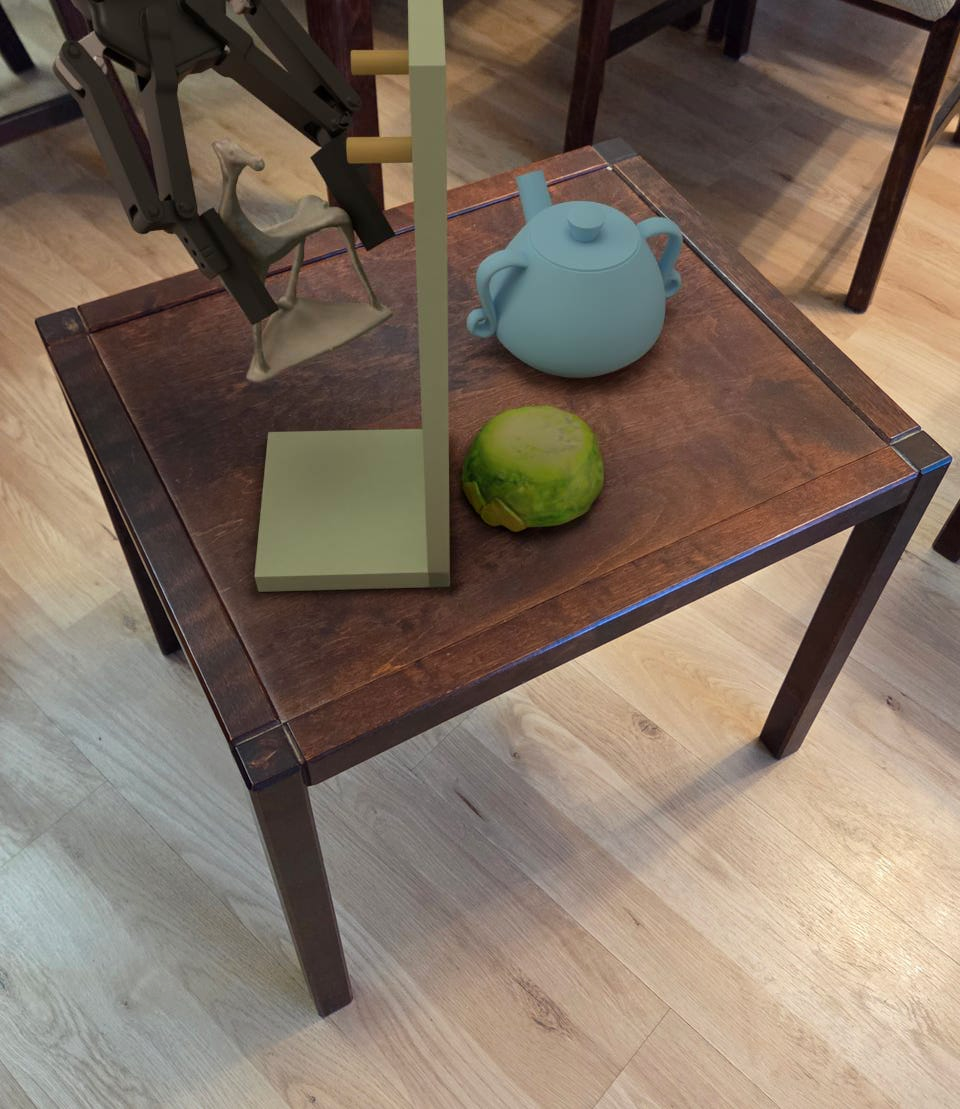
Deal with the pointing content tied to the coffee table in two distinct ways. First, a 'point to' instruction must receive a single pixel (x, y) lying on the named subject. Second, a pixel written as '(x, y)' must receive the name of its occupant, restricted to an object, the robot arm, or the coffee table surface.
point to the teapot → (576, 285)
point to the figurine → (293, 276)
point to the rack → (378, 455)
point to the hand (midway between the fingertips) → (325, 279)
